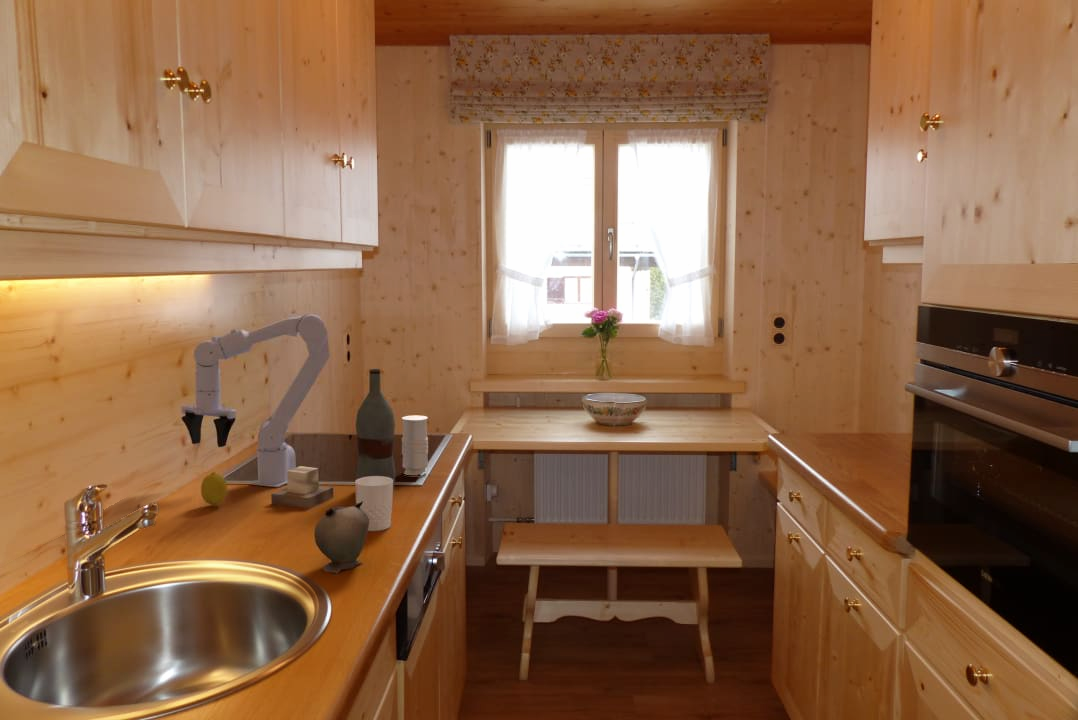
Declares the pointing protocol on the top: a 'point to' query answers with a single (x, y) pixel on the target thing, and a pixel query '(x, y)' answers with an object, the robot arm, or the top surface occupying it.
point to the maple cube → (302, 480)
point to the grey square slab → (302, 498)
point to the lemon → (214, 488)
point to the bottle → (375, 433)
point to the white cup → (375, 500)
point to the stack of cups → (414, 444)
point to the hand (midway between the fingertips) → (209, 444)
